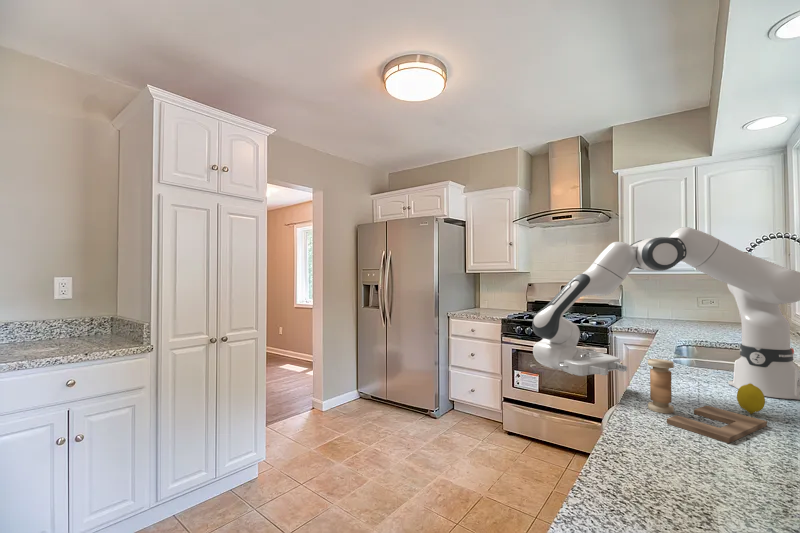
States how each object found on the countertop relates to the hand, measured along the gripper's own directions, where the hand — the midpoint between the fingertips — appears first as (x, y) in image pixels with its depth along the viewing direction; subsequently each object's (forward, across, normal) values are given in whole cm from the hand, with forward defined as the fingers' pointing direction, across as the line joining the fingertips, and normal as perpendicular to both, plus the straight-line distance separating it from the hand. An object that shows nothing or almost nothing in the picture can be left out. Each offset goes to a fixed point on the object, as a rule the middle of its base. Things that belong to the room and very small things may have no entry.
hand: (616, 370), depth 116 cm
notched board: (+24, +1, +8) cm, 26 cm away
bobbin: (+12, 0, +8) cm, 15 cm away
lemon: (+25, +18, +8) cm, 32 cm away
